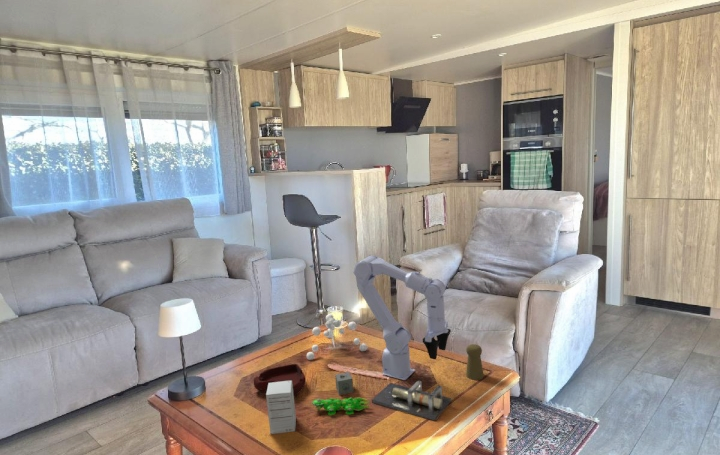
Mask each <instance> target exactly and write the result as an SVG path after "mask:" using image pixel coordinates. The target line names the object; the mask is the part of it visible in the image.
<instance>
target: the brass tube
mask: <svg viewBox="0 0 720 455" xmlns="http://www.w3.org/2000/svg"><path fill="white" fill-rule="evenodd" d="M407 391H408V390H404V389H400V388H396V387H394V389H393V391H392V396H393V397H396V398H399V399H403V400H407V401H408V393H407ZM413 402H414V403H418V404H421V405H425V406H429V404H428V396H427V395H424V394H420V393H416V392H413ZM442 404H443V401H442V399H439V398H435V397H434V408H436V409H441V408H442Z"/></svg>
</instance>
